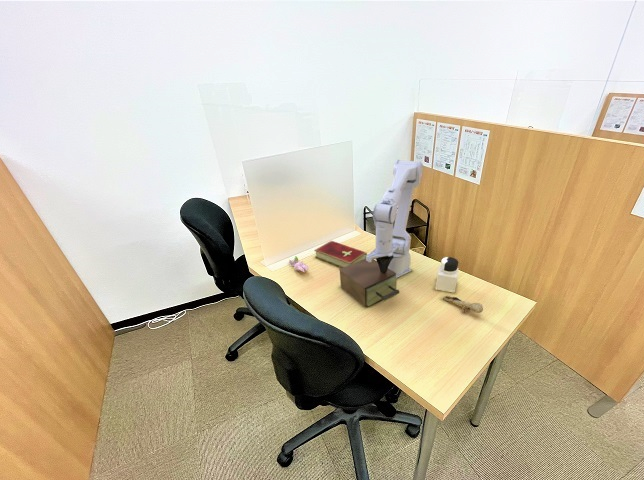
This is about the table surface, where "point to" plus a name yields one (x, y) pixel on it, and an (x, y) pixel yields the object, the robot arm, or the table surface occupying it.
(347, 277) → the cabinet
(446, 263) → the ball on square pedestal
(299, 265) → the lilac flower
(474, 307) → the figurine
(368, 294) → the drawer
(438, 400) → the table surface
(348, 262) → the hardcover book
